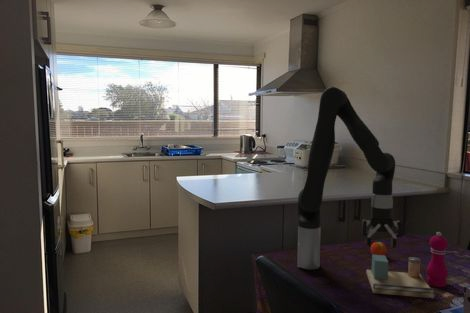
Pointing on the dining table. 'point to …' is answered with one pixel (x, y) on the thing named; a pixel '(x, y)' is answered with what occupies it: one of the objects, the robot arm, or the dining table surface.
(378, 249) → the clementine
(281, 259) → the dining table surface
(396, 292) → the shelf board
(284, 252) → the dining table surface
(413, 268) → the spice jar
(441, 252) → the pepper mill
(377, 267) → the tea box
